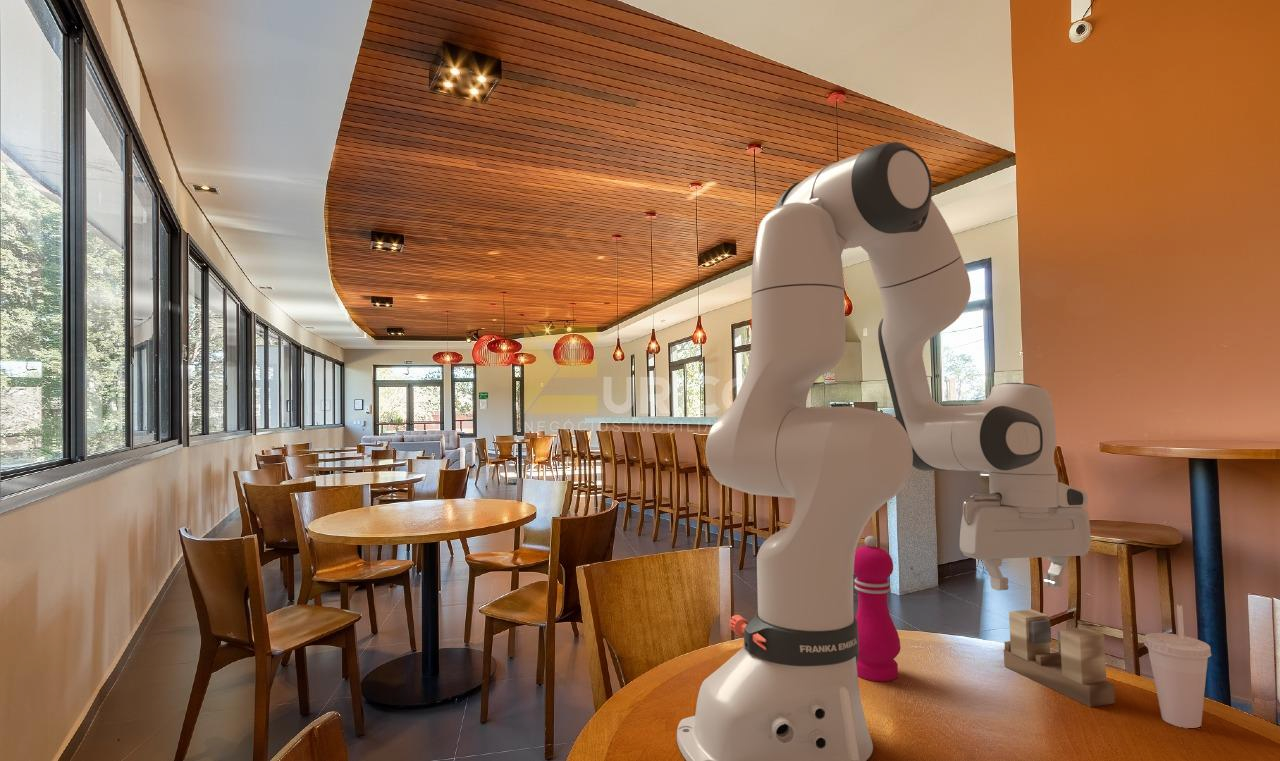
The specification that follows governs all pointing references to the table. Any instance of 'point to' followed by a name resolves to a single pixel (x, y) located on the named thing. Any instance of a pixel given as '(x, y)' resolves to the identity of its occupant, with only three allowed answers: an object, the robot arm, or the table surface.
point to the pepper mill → (875, 614)
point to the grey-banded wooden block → (1029, 633)
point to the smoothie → (1179, 674)
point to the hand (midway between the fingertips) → (1026, 588)
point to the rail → (1056, 681)
